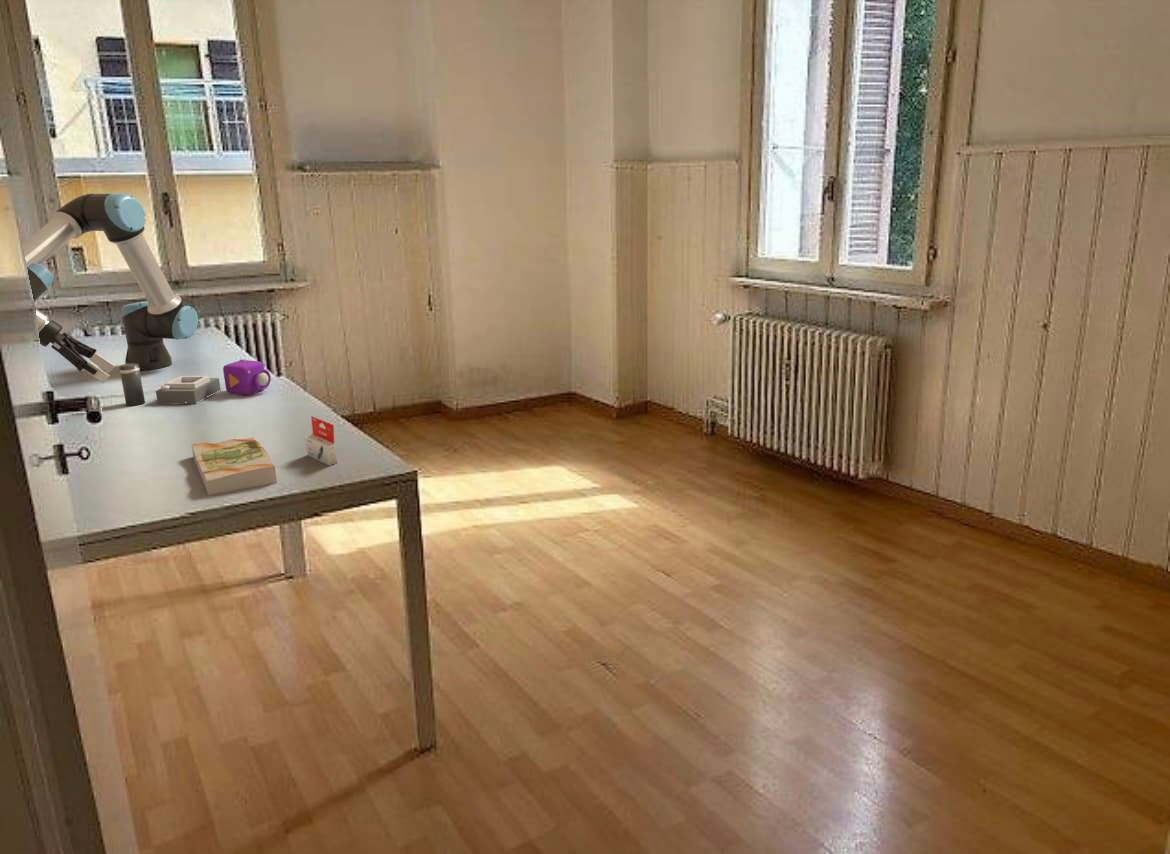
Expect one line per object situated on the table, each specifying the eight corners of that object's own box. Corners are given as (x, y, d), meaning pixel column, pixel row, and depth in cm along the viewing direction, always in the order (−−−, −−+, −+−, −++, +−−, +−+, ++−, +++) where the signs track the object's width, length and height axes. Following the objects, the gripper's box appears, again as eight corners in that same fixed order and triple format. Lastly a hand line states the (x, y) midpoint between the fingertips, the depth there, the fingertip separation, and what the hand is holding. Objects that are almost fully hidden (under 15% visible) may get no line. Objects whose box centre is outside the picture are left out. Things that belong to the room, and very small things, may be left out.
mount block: (184, 390, 278) (181, 373, 276) (220, 390, 277) (218, 373, 276) (157, 403, 263) (154, 386, 261) (196, 403, 262) (193, 386, 260)
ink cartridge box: (328, 466, 207) (324, 426, 204) (306, 455, 214) (302, 417, 212) (338, 463, 208) (334, 424, 206) (315, 453, 216) (311, 415, 213)
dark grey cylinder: (132, 401, 266) (125, 363, 262) (148, 401, 266) (142, 363, 262) (122, 406, 261) (115, 367, 257) (139, 406, 261) (132, 367, 257)
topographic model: (277, 484, 197) (274, 463, 195) (208, 496, 190) (205, 475, 188) (254, 448, 222) (252, 429, 220) (193, 458, 215) (190, 439, 213)
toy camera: (261, 397, 268) (257, 366, 265) (221, 395, 271) (217, 364, 268) (279, 388, 278) (276, 358, 275) (241, 387, 281) (237, 357, 278)
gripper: (41, 331, 259) (106, 375, 269) (23, 346, 237) (95, 393, 246) (57, 312, 259) (122, 356, 269) (42, 325, 237) (113, 373, 247)
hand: (109, 374), depth 258 cm, fingers open, 13 cm apart
